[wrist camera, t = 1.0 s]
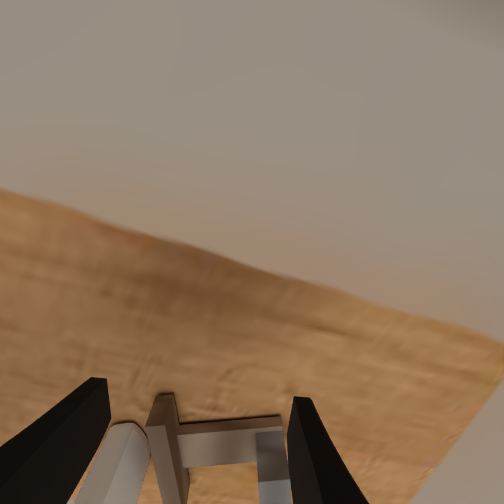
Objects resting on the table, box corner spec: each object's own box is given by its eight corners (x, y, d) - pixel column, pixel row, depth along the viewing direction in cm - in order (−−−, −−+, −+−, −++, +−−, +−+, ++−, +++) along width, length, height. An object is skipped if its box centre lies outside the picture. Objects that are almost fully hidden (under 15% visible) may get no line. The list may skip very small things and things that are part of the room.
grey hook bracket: (174, 484, 28) (161, 551, 23) (155, 395, 24) (135, 452, 20) (282, 474, 28) (292, 538, 23) (279, 385, 24) (289, 439, 20)
